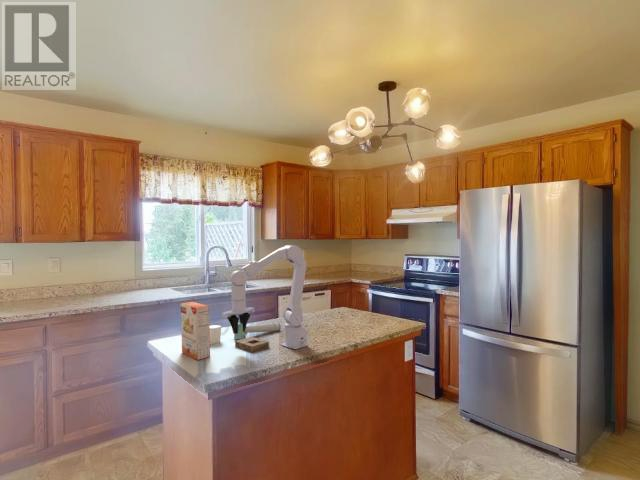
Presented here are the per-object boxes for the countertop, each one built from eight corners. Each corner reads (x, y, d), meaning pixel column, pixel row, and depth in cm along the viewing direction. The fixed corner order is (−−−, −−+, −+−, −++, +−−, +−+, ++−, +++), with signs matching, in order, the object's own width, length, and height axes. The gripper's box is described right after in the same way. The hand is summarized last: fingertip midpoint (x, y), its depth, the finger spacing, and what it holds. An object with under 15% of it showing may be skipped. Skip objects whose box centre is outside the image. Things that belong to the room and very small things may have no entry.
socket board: (268, 347, 160) (268, 341, 160) (252, 352, 153) (251, 346, 153) (252, 341, 168) (251, 336, 168) (235, 346, 162) (235, 341, 162)
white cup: (223, 339, 173) (222, 324, 173) (219, 343, 166) (219, 328, 166) (208, 339, 173) (208, 324, 173) (204, 343, 166) (204, 328, 166)
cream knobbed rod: (281, 323, 187) (238, 325, 170) (280, 337, 186) (236, 340, 170) (275, 321, 191) (232, 323, 174) (274, 335, 190) (231, 337, 174)
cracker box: (180, 353, 153) (180, 303, 153) (194, 349, 158) (193, 301, 157) (196, 361, 144) (195, 307, 143) (210, 357, 148) (209, 305, 147)
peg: (244, 338, 154) (244, 323, 153) (238, 339, 151) (237, 325, 151) (240, 336, 156) (239, 322, 156) (233, 338, 153) (233, 323, 153)
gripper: (247, 296, 161) (247, 327, 162) (217, 301, 151) (218, 334, 151) (257, 298, 157) (257, 330, 157) (227, 303, 146) (228, 337, 146)
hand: (239, 332), depth 153 cm, fingers closed on peg, 3 cm apart
